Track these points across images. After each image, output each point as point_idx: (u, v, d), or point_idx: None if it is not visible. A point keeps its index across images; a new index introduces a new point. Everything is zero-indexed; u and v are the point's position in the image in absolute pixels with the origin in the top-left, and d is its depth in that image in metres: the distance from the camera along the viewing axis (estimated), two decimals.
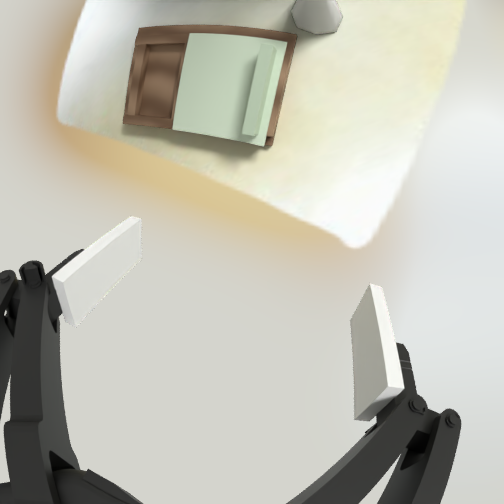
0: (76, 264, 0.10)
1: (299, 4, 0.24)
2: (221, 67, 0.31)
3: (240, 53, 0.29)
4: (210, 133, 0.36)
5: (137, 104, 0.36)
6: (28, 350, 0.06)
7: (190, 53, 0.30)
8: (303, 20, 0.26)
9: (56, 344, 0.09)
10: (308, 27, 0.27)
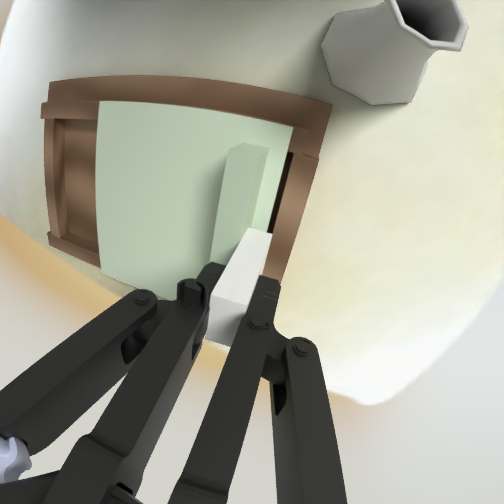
0: (230, 279, 0.12)
1: (349, 37, 0.10)
2: (157, 179, 0.17)
3: (191, 151, 0.16)
4: (156, 292, 0.22)
5: (60, 221, 0.23)
6: (151, 376, 0.07)
7: (103, 145, 0.17)
8: (352, 76, 0.12)
9: (186, 371, 0.10)
10: (359, 90, 0.14)
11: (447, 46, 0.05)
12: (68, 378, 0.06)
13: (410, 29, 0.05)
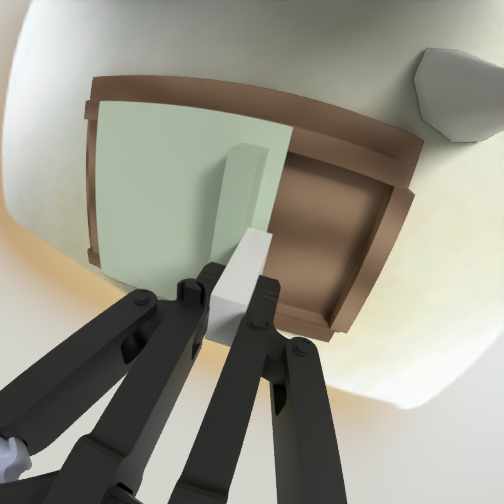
0: (230, 279, 0.12)
1: (456, 84, 0.10)
2: (157, 179, 0.17)
3: (191, 151, 0.16)
4: (156, 292, 0.22)
5: None
6: (151, 376, 0.07)
7: (103, 145, 0.17)
8: (449, 118, 0.12)
9: (186, 371, 0.10)
10: (447, 129, 0.13)
11: None
12: (68, 378, 0.06)
13: None
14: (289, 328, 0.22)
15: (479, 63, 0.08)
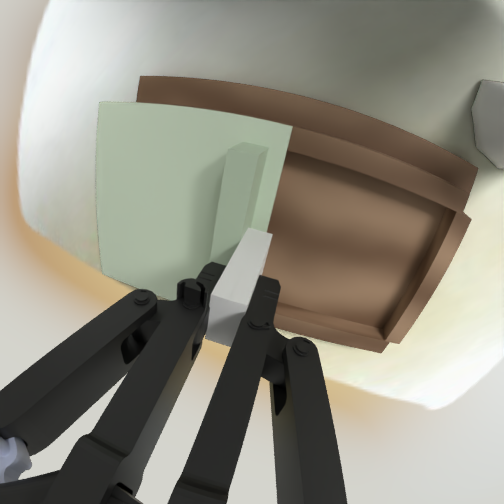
0: (230, 279, 0.12)
1: None
2: (157, 180, 0.17)
3: (191, 151, 0.16)
4: (156, 292, 0.22)
5: None
6: (151, 376, 0.07)
7: (103, 146, 0.17)
8: (502, 150, 0.11)
9: (186, 371, 0.10)
10: (497, 158, 0.13)
11: None
12: (68, 378, 0.06)
13: None
14: (347, 342, 0.21)
15: None
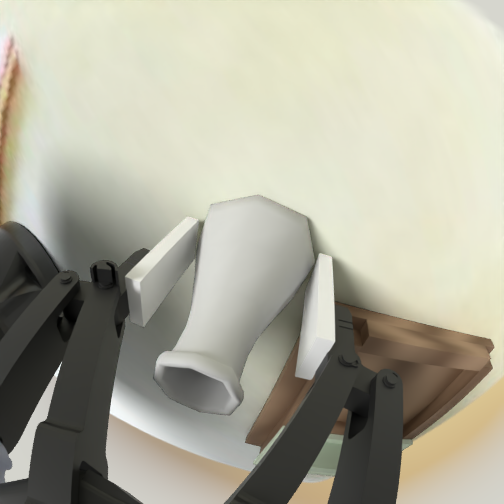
0: (148, 264, 0.12)
1: None
2: None
3: None
4: None
5: None
6: (84, 354, 0.07)
7: None
8: (284, 306, 0.15)
9: (116, 349, 0.10)
10: (299, 285, 0.16)
11: (232, 392, 0.08)
12: (20, 359, 0.06)
13: (228, 411, 0.09)
14: (465, 393, 0.16)
15: None
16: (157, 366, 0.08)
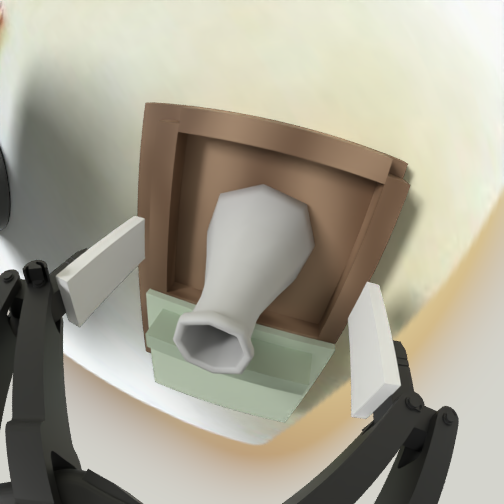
0: (80, 264, 0.10)
1: None
2: (199, 371, 0.24)
3: None
4: (299, 397, 0.23)
5: None
6: (31, 350, 0.06)
7: (182, 389, 0.27)
8: (287, 285, 0.17)
9: (59, 344, 0.09)
10: (301, 267, 0.17)
11: (244, 346, 0.09)
12: None
13: (240, 369, 0.10)
14: (382, 238, 0.15)
15: None
16: (178, 326, 0.10)
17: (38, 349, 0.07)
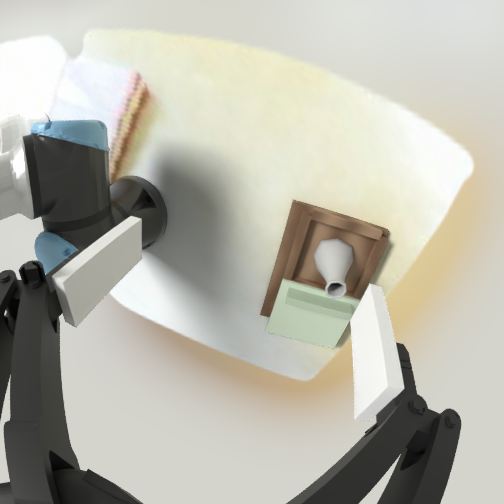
0: (76, 264, 0.10)
1: None
2: (297, 318, 0.53)
3: (288, 307, 0.52)
4: (343, 329, 0.52)
5: None
6: (28, 350, 0.06)
7: (281, 333, 0.55)
8: None
9: (56, 344, 0.09)
10: None
11: (345, 288, 0.38)
12: None
13: (342, 295, 0.39)
14: (378, 257, 0.44)
15: None
16: (329, 284, 0.38)
17: (35, 349, 0.07)
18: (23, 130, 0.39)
